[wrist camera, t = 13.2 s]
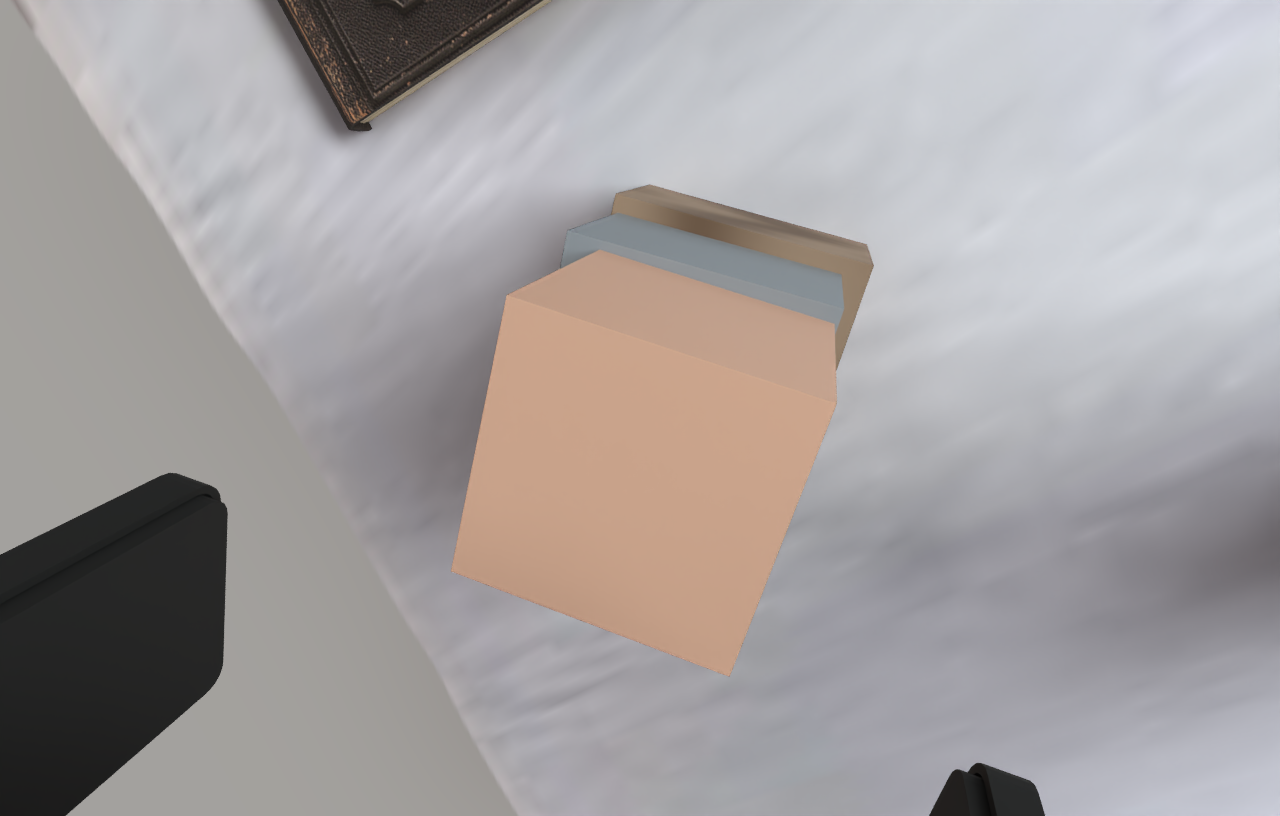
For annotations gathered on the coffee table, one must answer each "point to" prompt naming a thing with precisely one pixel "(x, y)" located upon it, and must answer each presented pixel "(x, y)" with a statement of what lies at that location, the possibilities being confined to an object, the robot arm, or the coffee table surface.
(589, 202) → the coffee table surface
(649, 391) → the terracotta cube
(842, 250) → the tower bottom
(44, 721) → the robot arm
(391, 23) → the hardcover book
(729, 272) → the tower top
